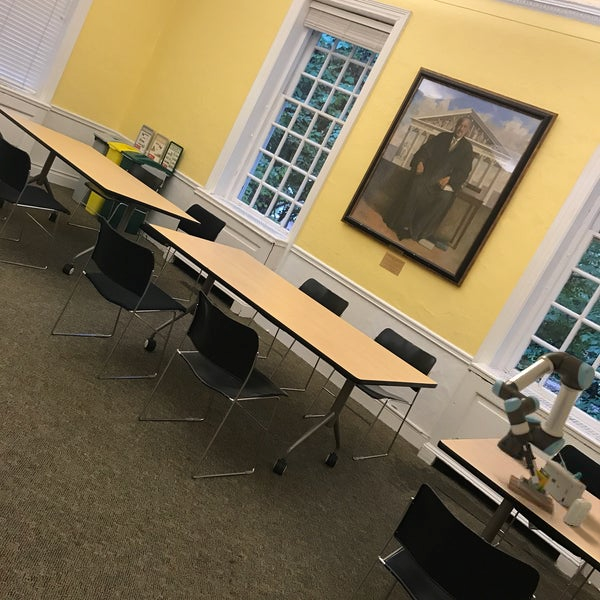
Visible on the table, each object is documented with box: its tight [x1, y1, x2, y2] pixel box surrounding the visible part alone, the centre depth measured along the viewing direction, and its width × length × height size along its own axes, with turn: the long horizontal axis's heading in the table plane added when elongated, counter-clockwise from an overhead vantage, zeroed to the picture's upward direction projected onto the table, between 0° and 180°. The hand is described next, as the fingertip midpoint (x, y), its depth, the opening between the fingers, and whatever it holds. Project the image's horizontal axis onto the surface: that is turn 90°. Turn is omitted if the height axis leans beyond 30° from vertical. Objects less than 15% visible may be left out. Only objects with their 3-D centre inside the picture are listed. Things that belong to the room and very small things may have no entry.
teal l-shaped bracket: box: [559, 461, 583, 481], centre depth 312 cm, size 18×11×10 cm, turn 157°
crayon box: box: [526, 466, 550, 493], centre depth 264 cm, size 7×3×12 cm, turn 13°
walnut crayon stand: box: [507, 474, 554, 515], centre depth 265 cm, size 18×20×4 cm
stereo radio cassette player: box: [542, 449, 587, 508], centre depth 280 cm, size 21×8×20 cm, turn 16°
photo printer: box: [562, 498, 593, 527], centre depth 253 cm, size 10×4×12 cm, turn 119°
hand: (536, 478), depth 264 cm, fingers open, 13 cm apart
